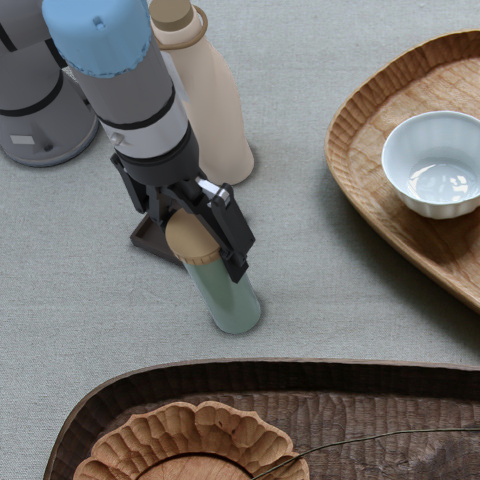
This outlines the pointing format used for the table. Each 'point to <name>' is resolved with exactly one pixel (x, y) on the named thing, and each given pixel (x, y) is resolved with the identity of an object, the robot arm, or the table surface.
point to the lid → (191, 240)
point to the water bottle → (203, 90)
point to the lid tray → (154, 237)
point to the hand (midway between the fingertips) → (212, 261)
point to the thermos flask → (226, 297)
